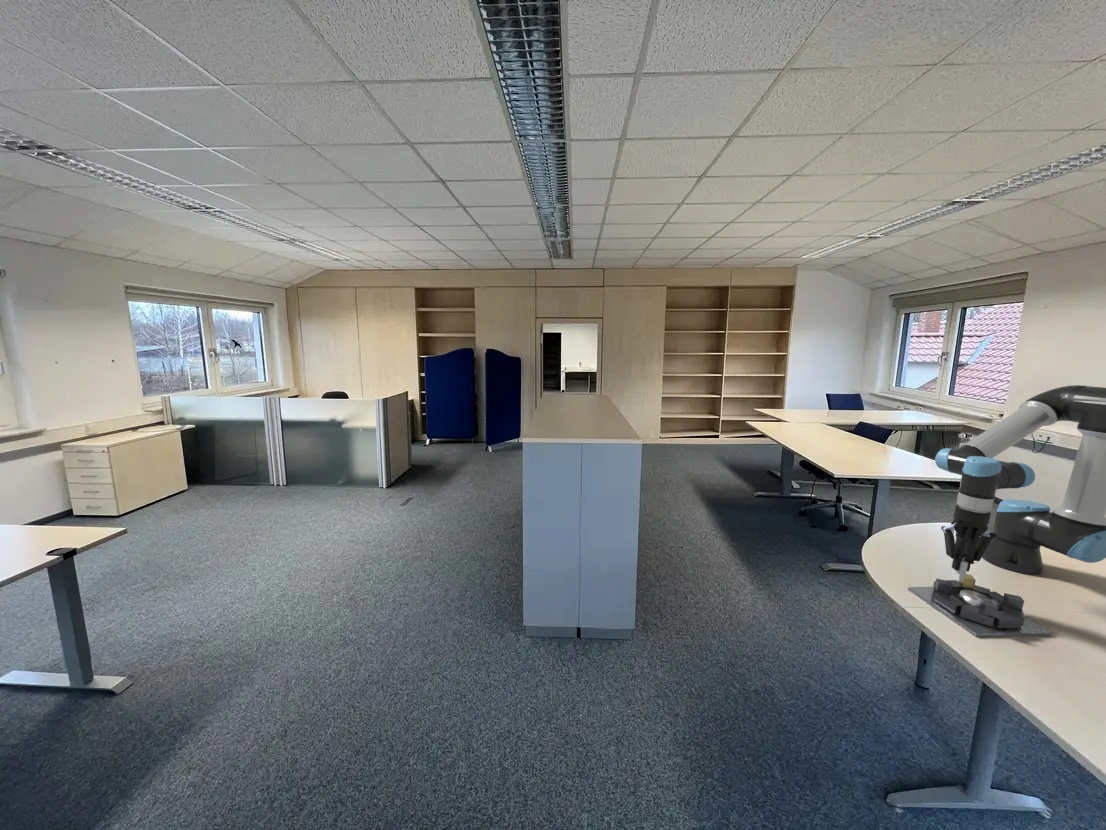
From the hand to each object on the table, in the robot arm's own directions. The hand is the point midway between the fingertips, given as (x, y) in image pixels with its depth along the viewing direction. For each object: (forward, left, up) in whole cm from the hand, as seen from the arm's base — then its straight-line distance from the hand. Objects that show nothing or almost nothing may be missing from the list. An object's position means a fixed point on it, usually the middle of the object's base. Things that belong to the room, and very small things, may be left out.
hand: (958, 579), depth 129 cm
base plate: (+2, +7, -6) cm, 9 cm away
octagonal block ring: (+2, +7, -4) cm, 8 cm away
